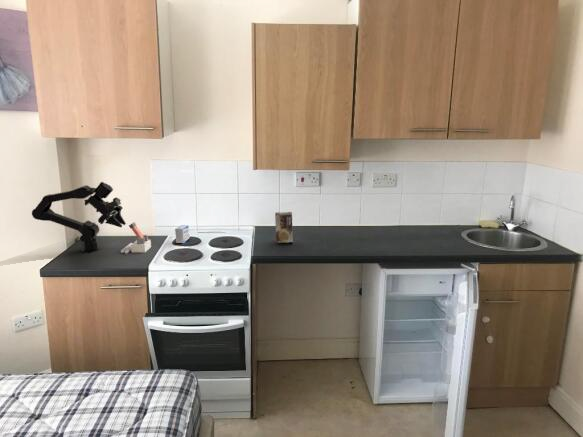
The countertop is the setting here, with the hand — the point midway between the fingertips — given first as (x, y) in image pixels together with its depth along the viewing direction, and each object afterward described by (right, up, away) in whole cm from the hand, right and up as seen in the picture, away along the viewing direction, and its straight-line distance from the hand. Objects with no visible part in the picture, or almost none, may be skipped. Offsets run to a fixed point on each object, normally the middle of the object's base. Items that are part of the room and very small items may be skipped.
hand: (123, 225), depth 231 cm
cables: (+2, -13, +3) cm, 13 cm away
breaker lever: (+9, -7, +1) cm, 12 cm away
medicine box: (+27, -10, +15) cm, 32 cm away
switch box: (+8, -13, +3) cm, 15 cm away
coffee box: (+83, -9, +11) cm, 84 cm away
